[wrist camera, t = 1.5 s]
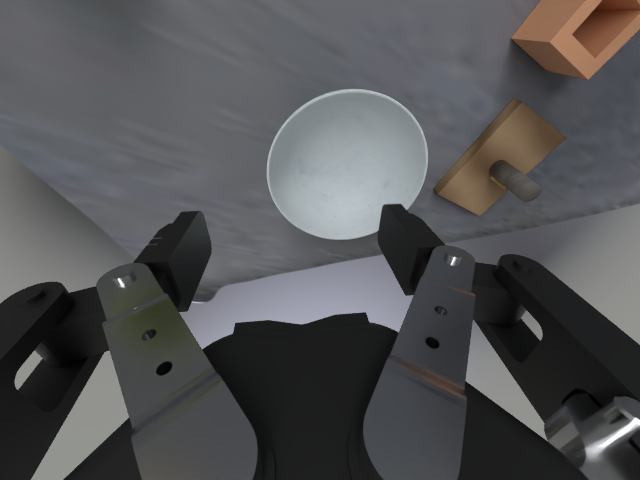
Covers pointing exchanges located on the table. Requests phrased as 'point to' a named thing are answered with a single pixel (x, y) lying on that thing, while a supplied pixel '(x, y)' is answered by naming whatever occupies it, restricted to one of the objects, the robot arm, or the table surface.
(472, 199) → the shaft block
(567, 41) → the orange hollow square block
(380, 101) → the chinaware
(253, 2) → the table surface
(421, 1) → the table surface
